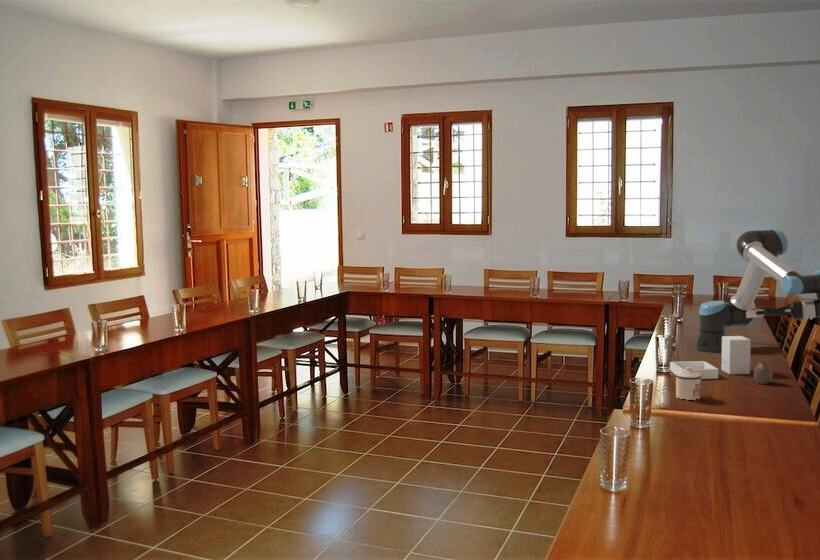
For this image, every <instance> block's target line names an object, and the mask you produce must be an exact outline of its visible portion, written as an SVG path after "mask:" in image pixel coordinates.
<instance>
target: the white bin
mask: <svg viewBox="0 0 820 560" xmlns="http://www.w3.org/2000/svg"><path fill="white" fill-rule="evenodd" d="M686 367H690V368H691V370H693V371H695V372H697V373H699V374H700V375H701V380H706V379H707V380H708V379H709V380H712V379H715V380H717V379H718V380H719V368H717V367H716V366H714V365H713V364H711V363H708V362H707V361H705V360H704V361H703V360H696V361H693V360H691V361H669V370H670V369H671V371H672V372H673V373H674V374H673V373H672V372H671V371H670V372H671V373H672V374H673V375H675V376H676V373H677V372H681V371H683V370H686Z"/></svg>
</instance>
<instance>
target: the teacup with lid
mask: <svg viewBox="0 0 820 560" xmlns="http://www.w3.org/2000/svg"><path fill="white" fill-rule="evenodd" d="M701 380H702V379H701V375H700V374H699V373H697V372H695V371H693V370H691V368H690V367H686V370H683V371H681V372H677V373H676V375H675V398H676V399H678V398H680V399H679V400H681V399H686V400H685V401H688V400H694V401H697V400H696V399H698V400H700V399H701Z"/></svg>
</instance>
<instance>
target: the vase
mask: <svg viewBox="0 0 820 560" xmlns="http://www.w3.org/2000/svg"><path fill="white" fill-rule="evenodd" d="M753 378H754V381H755V382H756V383H757V384H759V385H767V384H770V383H771V381H772V380H773V369H772V368H771V366H770V365H769V364H768V362H767V361H766V360H760V361H759V363H758V364H756V366H755V367H754V369H753Z"/></svg>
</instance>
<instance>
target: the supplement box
mask: <svg viewBox="0 0 820 560" xmlns="http://www.w3.org/2000/svg"><path fill="white" fill-rule="evenodd" d="M751 342H752V340H751V339H749V338H748V337H745V336H743V335H731V336H730V335H728V336H727V335H725V336H722V352H721V365H720V366H721V371H722V372H724V373H726V374H728V375H750V374H751V349H752V348H751V345H752V344H751Z"/></svg>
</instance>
